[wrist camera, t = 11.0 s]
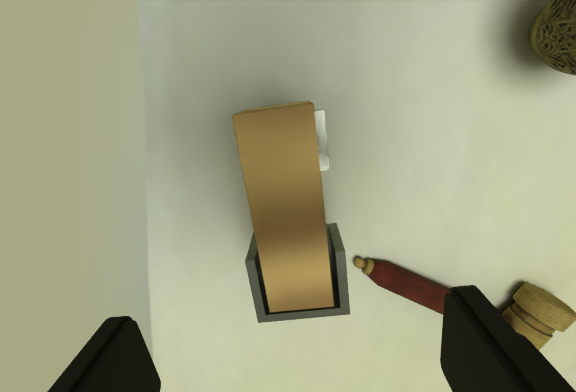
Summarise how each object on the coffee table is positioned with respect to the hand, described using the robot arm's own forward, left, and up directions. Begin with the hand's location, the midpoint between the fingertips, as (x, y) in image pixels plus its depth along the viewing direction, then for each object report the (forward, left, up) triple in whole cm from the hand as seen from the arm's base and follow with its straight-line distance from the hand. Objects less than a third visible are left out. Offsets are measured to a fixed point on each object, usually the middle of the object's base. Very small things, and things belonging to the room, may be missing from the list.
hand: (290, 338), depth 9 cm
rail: (0, 0, -13) cm, 13 cm away
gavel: (+15, +14, -20) cm, 28 cm away
